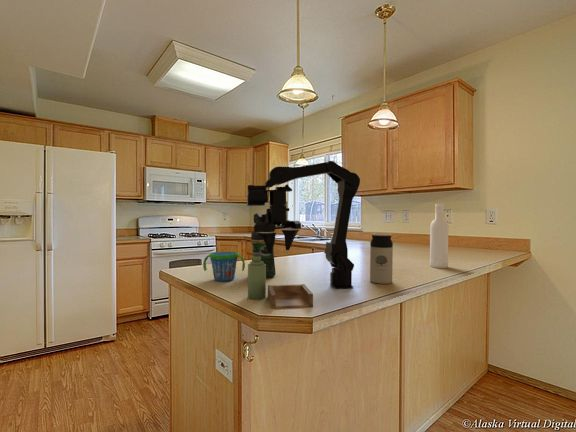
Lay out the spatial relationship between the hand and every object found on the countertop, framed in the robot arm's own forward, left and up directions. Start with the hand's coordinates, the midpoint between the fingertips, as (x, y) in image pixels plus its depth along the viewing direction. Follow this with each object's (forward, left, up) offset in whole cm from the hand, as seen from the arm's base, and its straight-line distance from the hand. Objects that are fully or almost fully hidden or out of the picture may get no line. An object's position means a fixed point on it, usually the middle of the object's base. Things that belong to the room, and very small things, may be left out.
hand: (279, 252), depth 105 cm
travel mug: (-39, -6, -13) cm, 42 cm away
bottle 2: (-81, -33, -13) cm, 89 cm away
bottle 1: (+8, +9, -13) cm, 17 cm away
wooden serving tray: (-1, +15, -13) cm, 19 cm away
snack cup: (+19, -17, -13) cm, 29 cm away
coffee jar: (+4, -21, -13) cm, 25 cm away
